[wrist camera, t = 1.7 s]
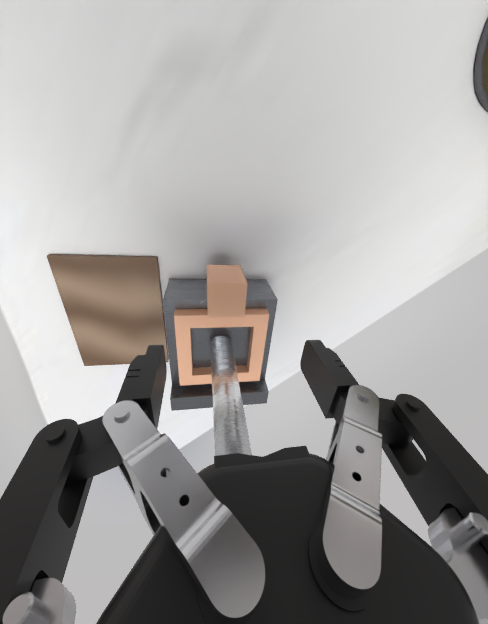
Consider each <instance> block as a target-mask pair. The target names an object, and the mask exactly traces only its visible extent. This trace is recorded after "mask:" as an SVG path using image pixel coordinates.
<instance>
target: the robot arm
mask: <svg viewBox="0 0 488 624" xmlns="http://www.w3.org/2000/svg"><path fill="white" fill-rule="evenodd" d="M301 370H302V372H303V374H304V376H305V378H306V380H307V382H308V384H309V386H310V388H311V390H312V392H313V394H314V396H315V398H316V400H317V402H318V404H319V406H320V408H321V410H322V412H323V414H324V416H325V418H334V419H335V420H336V423H335V425H334V429H333V433H332V437H331V442H330V446H329V450H328V454H327V457H326V460H325V459H323V458H321V457H319V456H317V455H313V454H309V452H308V450H307V447H306V446H300V447H291V448H284V449H281V450H279V451H277V452H274V453H272V454H269V455H267V456H264V457H259V456H252V455H246V454H240V453H236V454H227V455H217V456H214V464H212V465H210V466H208V467H206V468H204V469H203V470H201V471H200V472H199V473H198V474H197V473H196V472H195V470H194V469H193V468H192V466H191V465H190V464H189V463H188V461H187V460H186V459H185V457H184V456H183V455H182V453H181V452H180V451H179V450H178V448H177V447H176V446H175V444H174V443H173V442H172V441H171V439H170V438H169V437H168V436H167V435H166V434H162V435H161V434H160V433H159V431H158V430H157V427H158V421H159V415H160V410H161V404H162V398H163V392H164V387H165V381H166V359H165V350H164V345H148V348H147V351H146V354H145V355H137V356H136V357H135V358H134V359H133V361H132V362H131V363H130V366H129V369H128V371H127V374H126V378H125V379H124V382H123V385H122V388H121V390H120V393H119V396H118V398H117V401H116V403H115V404H114V405H112V406H111V407H110V408H109V409H107V411H106V412H105V413H104V415H103V416H102V417H100V418H97V419H95V420H92V421H89V422H86V423H82V424H79V425H78V424H77V422H76V421H74V420H71V419H62V420H58V421H55V422H53V423H51V424H49V425H47V426H46V427H44V428H43V429H42V430H41V431H40V432H39V433H38V434H37V435H36V437H35V438H34V440H33V442H32V444H31V445H30V447H29V449H28V451H27V452H26V454H25V456H24V458H23V460H22V461H21V463H20V465H19V467H18V469H17V470H16V472H15V474H14V476H13V477H12V479H11V481H10V483H9V485H8V486H7V489H6V490H5V492H4V494H3V495H2V497H1V499H0V624H74V621H75V614H76V603H75V599H74V597H73V595H72V594H71V593H70V592H69V591H68V590H67V588H66V587H64V585H63V584H62V581H63V577H64V574H65V570H66V567H67V564H68V560H69V557H70V554H71V550H72V547H73V543H74V540H75V537H76V533H77V530H78V527H79V523H80V520H81V516H82V513H83V510H84V506H85V503H86V499H87V496H88V493H89V489H90V486H91V482H92V479H93V476H95V475H98V474H100V473H102V472H105V471H107V470H110V469H112V468H114V467H117V466H118V467H119V469H120V471H121V473H122V475H123V477H124V479H125V480H126V482H127V484H128V486H129V488H130V490H131V491H132V493H133V495H134V497H135V499H136V501H137V503H138V505H139V508H140V510H141V512H142V514H143V516H144V518H145V520H146V522H147V524H148V526H149V528H150V530H151V531H152V533H153V535H154V536H153V538H152V539H151V541H150V542H149V544H148V545H147V547H146V548H145V550H144V551H143V553H142V554H141V556H140V557H139V559H138V560H137V562H136V563H135V565H134V566H133V568H132V569H131V571H130V572H129V574H128V575H127V577H126V578H125V580H124V582H123V583H122V585H121V586H120V588H119V589H118V591H117V592H116V594H115V595H114V597H113V598H112V600H111V601H110V603H109V604H108V606H107V607H106V609H105V610H104V612H103V613H102V615H101V617H100V619H99V620H98V622H97V624H488V474H487V473H486V472H485V471H484V470H483V469H482V467H481V466H480V465H479V464H478V463H477V462H476V461H475V460H474V459H473V457H472V456H471V455H470V454H469V453H468V452H467V451H466V450H465V448H463V446H462V445H461V444H460V443H459V442H458V441H457V439H456V438H455V437H454V436H453V435H452V434H451V433H450V432H449V430H448V429H447V428H446V427H445V426H444V425H443V424H442V423H441V422H440V420H439V419H438V418H437V417H436V416H435V415H434V414H433V413H432V411H431V410H430V409H429V408H428V407H427V406H426V405H425V404H424V403H423V402H422V401H421V400H419V399H417V398H416V397H414V396H411V395H408V394H400V395H398V396H397V397H396V399H395V401H394V400H389V399H383V398H379V397H378V396H377V395H376V394H375V393H374V392H373V391H372V390H371V389H369V388H367V387H364V386H361V385H359V384H358V382H357V381H356V380H355V378H354V377H353V376H352V374H351V373H350V372H349V370H348V369H347V368H346V367H345V365H344V364H343V362H342V361H341V359H340V358H339V357H338V355H337V354H336V353H335V352H333V351H332V350H331V349H329V348H326V347H325V346H324V345H323V343H322V342H321V341H320V340H307V341H306V342H305V345H304V349H303V353H302V358H301ZM413 439H414V440H415V441H416V443H417V444H418V446H419V447H420V448H421V450H422V451H423V453H424V454H425V457H426V461H425V459H424V458H423V456H422V455H421V454H420V452H419V451H418V450H417V448H416V447H415V445H414V444H413V443H412V440H413ZM382 448H383V450H384V452H385V453H386V455H387V457H388V458H389V460H390V462H391V464H392V465H393V467H394V469H395V470H396V472H397V474H398V475H399V477H400V479H401V480H402V482H403V484H404V486H405V487H406V489H407V491H408V492H409V494H410V496H411V497H412V499H413V501H414V502H415V504H416V506H417V507H418V509H419V511H420V512H421V514H422V516H423V518H424V519H425V521H426V522H427V524H428V526H429V528H428V535H429V539H430V542H431V544H432V546H430V545H428V544H427V543H426V542H425V541H424V540H422V539H421V538H420V537H419V536H418V535H417V534H415V533H414V532H413V531H412V530H411V529H409V528H408V527H407V526H406V525H404V524H403V523H402V522H401V521H400V520H399V519H397V518H396V517H395V516H394V515H393V514H392V513H390V512H389V511H388V510H387V509H386V508H384V507H383V506H382V505H381V504H380V478H381V452H382Z"/></svg>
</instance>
